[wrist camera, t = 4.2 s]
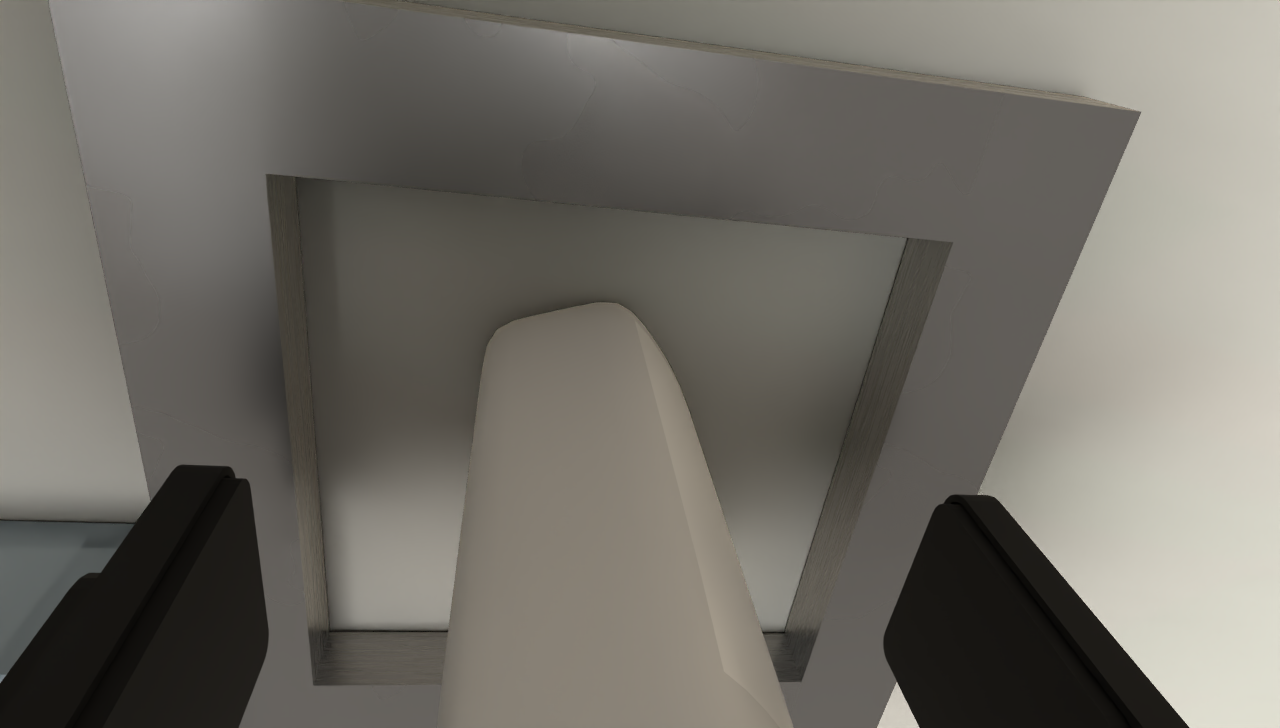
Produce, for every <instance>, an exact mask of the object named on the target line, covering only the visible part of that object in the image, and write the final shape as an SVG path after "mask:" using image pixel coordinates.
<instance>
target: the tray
mask: <svg viewBox="0 0 1280 728" xmlns="http://www.w3.org/2000/svg"><path fill="white" fill-rule="evenodd" d="M134 525H135V524H115V523H76V522H36V521H0V683H1V681H2V680H3V679H4V677H5V676H6V675H7V673H8V672H9V670H10V669H11V668H12V666H13V665H14V664H15V662H16V661H17V660H18V658H19V657H20V656H21V654H22V653H23V651H24V650H25V649H26V647H27V646H28V645H29V643H30V642H31V641H32V639H33V638H34V636H35V635H36V634H37V632H38V631H39V630H40V628H41V627H42V626H43V624H44V623H45V622H46V620H47V619H48V617H49V616H50V615H51V613H52V612H53V611H54V609H55V608H56V607H57V605H58V604H59V603H60V601H61V600H62V598H63V597H64V596H65V594H66V593H67V592H68V590H69V589H70V588H71V587H72V586H73V585H74V583H75V582H76V581H77V580H78V579H79V578H80V577H82V576H84V575H86V574H88V573H101V571H102V570H103V569H104V567H105V566H106V564H107V563H108V561H109V560H110V559H111V557H112V556H113V554H114V553H115V552H116V550H117V549H118V547H119V546H120V544H121V543H122V542H123V540H124V539H125V537H126V536H127V535H128V533H129V532H130V530H131V529H132V527H133V526H134Z"/></svg>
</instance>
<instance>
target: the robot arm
mask: <svg viewBox="0 0 1280 728" xmlns="http://www.w3.org/2000/svg"><path fill="white" fill-rule="evenodd" d="M268 641H269V628H268V620H267V612H266V605H265V597H264V589H263V581H262V573H261V565H260V557H259V549H258V541H257V534H256V526H255V518H254V510H253V502H252V494H251V487H250V483H249V481H248V480H247V479H244V478H236V477H235V473H234V471H233V469H232V468H231V467H229V466H210V465H184V464H181V465H179V466H177V467H176V468H175V469H174V470H173V471H172V472H171V474H170V475H169V476H168V478H167V479H166V481H165V482H164V483H163V485H162V486H161V488H160V489H159V491H158V492H157V493H156V495H155V496H154V498H153V499H152V500H151V502H150V503H149V505H148V506H147V508H146V509H145V510H144V512H143V513H142V515H141V516H140V517H139V519H138V520H137V522H136V523H135V525H134V526H133V527H132V529H131V530H130V532H129V533H128V535H127V536H126V537H125V539H124V540H123V542H122V543H121V544H120V546H119V547H118V549H117V550H116V552H115V553H114V554H113V556H112V557H111V559H110V560H109V561H108V563H107V564H106V566H105V567H104V569H103V570H102V571H101V573H88V574H86V575H84V576H82V577H80V578H79V579H78V580H77V581H76V582H75V583H74V585H73V586H72V587H71V588H70V589H69V590H68V592H67V593H66V594H65V596H64V597H63V598H62V600H61V601H60V603H59V604H58V605H57V607H56V608H55V609H54V611H53V612H52V613H51V615H50V616H49V617H48V619H47V620H46V622H45V623H44V624H43V626H42V627H41V628H40V630H39V631H38V632H37V634H36V635H35V636H34V638H33V639H32V641H31V642H30V643H29V645H28V646H27V647H26V649H25V650H24V651H23V653H22V654H21V656H20V657H19V658H18V660H17V661H16V662H15V664H14V665H13V666H12V668H11V669H10V670H9V672H8V673H7V675H6V676H5V677H4V679H3V680H2V681H1V683H0V728H239V725H240V723H241V720H242V718H243V715H244V713H245V710H246V707H247V705H248V702H249V700H250V697H251V694H252V692H253V689H254V687H255V684H256V681H257V679H258V676H259V674H260V671H261V668H262V666H263V663H264V660H265V657H266V653H267V648H268ZM883 649H884V654H885V657H886V660H887V662H888V664H889V666H890V668H891V670H892V672H893V675H894V677H895V679H896V681H897V683H898V685H899V687H900V689H901V691H902V693H903V695H904V697H905V699H906V701H907V703H908V705H909V707H910V709H911V711H912V713H913V715H914V717H915V719H916V721H917V723H918V725H919V727H920V728H1189V727H1188V725H1187V724H1186V723H1185V722H1184V721H1183V719H1182V718H1181V717H1180V716H1179V715H1178V714H1177V712H1176V711H1175V710H1174V709H1173V708H1172V706H1171V705H1170V704H1169V703H1168V702H1167V700H1166V699H1165V698H1164V697H1163V696H1162V694H1161V693H1160V692H1159V691H1158V690H1157V689H1156V687H1155V686H1154V685H1153V684H1152V683H1151V681H1150V680H1149V679H1148V678H1147V677H1146V675H1145V674H1144V673H1143V672H1142V671H1141V669H1140V668H1139V667H1138V666H1137V665H1136V664H1135V662H1134V661H1133V660H1132V659H1131V658H1130V656H1129V655H1128V654H1127V653H1126V652H1125V650H1124V649H1123V648H1122V647H1121V646H1120V645H1119V643H1118V642H1117V641H1116V640H1115V639H1114V637H1113V636H1112V635H1111V634H1110V633H1109V631H1108V630H1107V629H1106V628H1105V627H1104V625H1103V624H1102V623H1101V622H1100V621H1099V620H1098V618H1097V617H1096V616H1095V615H1094V614H1093V612H1092V611H1091V610H1090V609H1089V608H1088V606H1087V605H1086V604H1085V603H1084V602H1083V600H1082V599H1081V598H1080V597H1079V596H1078V595H1077V593H1076V592H1075V591H1074V590H1073V589H1072V587H1071V586H1070V585H1069V584H1068V583H1067V581H1066V580H1065V579H1064V578H1063V577H1062V576H1061V574H1060V573H1059V572H1058V571H1057V570H1056V568H1055V567H1054V566H1053V565H1052V564H1051V562H1050V561H1049V560H1048V559H1047V558H1046V556H1045V555H1044V554H1043V553H1042V552H1041V551H1040V549H1039V548H1038V547H1037V546H1036V545H1035V543H1034V542H1033V541H1032V540H1031V539H1030V537H1029V536H1028V535H1027V534H1026V533H1025V531H1024V530H1023V529H1022V528H1021V527H1020V526H1019V524H1018V523H1017V522H1016V521H1015V520H1014V518H1013V517H1012V516H1011V515H1010V514H1009V512H1008V511H1007V510H1006V509H1005V508H1004V507H1003V505H1002V504H1001V503H1000V502H999V501H998V500H997V499H996V498H995V497H992V496H988V495H962V494H955V495H950V496H949V497H948V498H947V499H946V500H945V502H944V503H943V504H939V505H938V506H937V507H935V509H934V511H933V513H932V516H931V518H930V521H929V523H928V526H927V528H926V531H925V533H924V536H923V538H922V541H921V543H920V546H919V548H918V551H917V553H916V556H915V558H914V560H913V563H912V565H911V568H910V570H909V573H908V575H907V578H906V580H905V583H904V585H903V588H902V590H901V593H900V595H899V598H898V600H897V603H896V605H895V608H894V610H893V613H892V615H891V618H890V620H889V623H888V625H887V628H886V630H885V633H884V637H883Z"/></svg>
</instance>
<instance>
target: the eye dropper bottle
mask: <svg viewBox="0 0 1280 728" xmlns="http://www.w3.org/2000/svg"><path fill="white" fill-rule="evenodd" d="M437 728H794V727H793V724H792V721H791V718H790V715H789V712H788V709H787V706H786V702H785V699H784V696H783V693H782V690H781V687H780V684H779V681H778V678H777V675H776V672H775V669H774V666H773V663H772V660H771V657H770V654H769V651H768V648H767V645H766V642H765V639H764V636H763V633H762V630H761V627H760V624H759V621H758V618H757V614H756V611H755V608H754V605H753V602H752V599H751V596H750V593H749V590H748V587H747V584H746V581H745V578H744V575H743V572H742V569H741V566H740V563H739V560H738V557H737V554H736V551H735V548H734V545H733V542H732V539H731V536H730V533H729V530H728V527H727V524H726V521H725V518H724V515H723V512H722V509H721V506H720V503H719V500H718V497H717V494H716V490H715V487H714V484H713V481H712V478H711V475H710V472H709V469H708V466H707V463H706V460H705V457H704V454H703V451H702V448H701V445H700V442H699V439H698V436H697V433H696V430H695V427H694V424H693V421H692V418H691V415H690V412H689V409H688V406H687V404H686V401H685V398H684V395H683V393H682V390H681V388H680V386H679V383H678V381H677V379H676V377H675V374H674V372H673V371H672V369H671V367H670V365H669V363H668V361H667V359H666V357H665V356H664V354H663V353H662V351H661V349H660V348H659V346H658V344H657V343H656V341H655V340H654V339H653V337H652V336H651V334H650V333H649V332H648V330H647V329H646V327H645V326H644V325H643V324H642V323H641V321H640V320H639V319H638V318H637V317H636V316H635V315H634V313H633V312H631V311H630V310H628V309H626V308H625V307H623V306H621V305H620V304H618V303H605V302H596V303H591V304H585V305H580V306H575V307H570V308H566V309H561V310H556V311H552V312H547V313H542V314H538V315H533V316H529V317H525V318H522V319H518V320H514V321H512V322H510V323H508V324H506V325H504V326H502V327H500V328H499V329H497V330H496V332H495V333H494V335H493V336H492V338H491V340H490V341H489V343H488V345H487V348H486V352H485V357H484V361H483V366H482V372H481V380H480V387H479V395H478V403H477V410H476V418H475V425H474V433H473V441H472V448H471V456H470V464H469V471H468V479H467V487H466V494H465V502H464V510H463V518H462V526H461V534H460V542H459V550H458V558H457V566H456V574H455V582H454V590H453V598H452V606H451V614H450V622H449V630H448V638H447V645H446V653H445V661H444V669H443V677H442V686H441V695H440V704H439V713H438V722H437Z"/></svg>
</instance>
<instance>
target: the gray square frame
mask: <svg viewBox="0 0 1280 728" xmlns="http://www.w3.org/2000/svg"><path fill="white" fill-rule="evenodd" d="M48 4H49V9H50V14H51V18H52V23H53V28H54V33H55V38H56V43H57V48H58V52H59V57H60V62H61V67H62V72H63V77H64V82H65V87H66V91H67V96H68V101H69V106H70V111H71V116H72V121H73V125H74V130H75V135H76V140H77V145H78V150H79V155H80V159H81V164H82V169H83V174H84V179H85V184H86V189H87V194H88V198H89V203H90V208H91V213H92V218H93V223H94V228H95V232H96V237H97V242H98V247H99V252H100V257H101V262H102V266H103V271H104V276H105V281H106V286H107V291H108V296H109V301H110V305H111V310H112V315H113V320H114V325H115V330H116V335H117V339H118V344H119V349H120V354H121V359H122V364H123V369H124V374H125V378H126V383H127V388H128V393H129V398H130V403H131V408H132V412H133V417H134V422H135V427H136V432H137V437H138V442H139V446H140V451H141V456H142V461H143V466H144V471H145V476H146V481H147V485H148V490H149V495H150V500H152V499H153V498H154V496H155V495H156V493H157V492H158V491H159V489H160V488H161V486H162V485H163V483H164V482H165V481H166V479H167V478H168V476H169V475H170V474H171V472H172V471H173V470H174V469H175V468H176V467H177V466H179V465H181V464H184V465H210V466H229V467H231V468H232V469H233V471H234V473H235V477H236V478H244V479H247V480H248V481H249V483H250V487H251V494H252V502H253V510H254V518H255V526H256V534H257V541H258V549H259V557H260V565H261V573H262V581H263V589H264V597H265V605H266V612H267V620H268V628H269V641H268V648H267V653H266V657H265V660H264V663H263V666H262V668H261V671H260V674H259V676H258V679H257V681H256V684H255V687H254V689H253V692H252V694H251V697H250V700H249V702H248V705H247V707H246V710H245V713H244V715H243V718H242V720H241V723H240V725H239V728H437V722H438V713H439V704H440V695H441V686H442V677H443V669H444V661H445V653H446V645H447V638H448V632H330V629H329V616H328V602H327V589H326V576H325V563H324V549H323V536H322V523H321V509H320V496H319V483H318V469H317V456H316V443H315V429H314V416H313V403H312V389H311V376H310V363H309V349H308V336H307V323H306V309H305V296H304V283H303V269H302V256H301V243H300V229H299V216H298V203H297V190H296V177H304V178H314V179H324V180H334V181H344V182H354V183H364V184H374V185H384V186H394V187H404V188H414V189H424V190H434V191H444V192H454V193H464V194H474V195H484V196H494V197H504V198H514V199H524V200H534V201H544V202H554V203H565V204H575V205H585V206H595V207H605V208H615V209H625V210H635V211H645V212H655V213H665V214H675V215H685V216H695V217H705V218H715V219H725V220H735V221H745V222H755V223H765V224H775V225H785V226H795V227H805V228H815V229H825V230H835V231H845V232H855V233H865V234H875V235H885V236H895V237H905V238H909V239H908V242H907V245H906V248H905V251H904V254H903V258H902V261H901V264H900V267H899V270H898V273H897V277H896V280H895V283H894V286H893V289H892V293H891V296H890V299H889V302H888V305H887V308H886V312H885V315H884V318H883V321H882V324H881V327H880V331H879V334H878V337H877V340H876V343H875V346H874V350H873V353H872V356H871V359H870V362H869V365H868V369H867V372H866V375H865V378H864V381H863V385H862V388H861V391H860V394H859V397H858V400H857V404H856V407H855V410H854V413H853V416H852V419H851V423H850V426H849V429H848V432H847V435H846V438H845V442H844V445H843V448H842V451H841V454H840V457H839V461H838V464H837V467H836V470H835V473H834V477H833V480H832V483H831V486H830V489H829V492H828V496H827V499H826V502H825V505H824V508H823V511H822V515H821V518H820V521H819V524H818V527H817V530H816V534H815V537H814V540H813V543H812V546H811V549H810V553H809V556H808V559H807V562H806V565H805V569H804V572H803V575H802V578H801V581H800V584H799V588H798V591H797V594H796V597H795V600H794V603H793V607H792V610H791V613H790V616H789V619H788V622H787V626H786V629H785V632H784V633H763V636H764V639H765V642H766V645H767V648H768V651H769V654H770V657H771V660H772V663H773V666H774V669H775V672H776V675H777V678H778V681H779V684H780V687H781V690H782V693H783V696H784V699H785V702H786V706H787V709H788V712H789V715H790V718H791V721H792V724H793V727H794V728H877V726H878V724H879V721H880V719H881V717H882V714H883V712H884V710H885V707H886V705H887V703H888V700H889V698H890V696H891V693H892V691H893V689H894V686H895V684H896V682H897V681H896V679H895V677H894V675H893V672H892V670H891V668H890V666H889V664H888V662H887V660H886V657H885V654H884V649H883V637H884V633H885V630H886V628H887V625H888V623H889V620H890V618H891V615H892V613H893V610H894V608H895V605H896V603H897V600H898V598H899V595H900V593H901V590H902V588H903V585H904V583H905V580H906V578H907V575H908V573H909V570H910V568H911V565H912V563H913V560H914V558H915V556H916V553H917V551H918V548H919V546H920V543H921V541H922V538H923V536H924V533H925V531H926V528H927V526H928V523H929V521H930V518H931V516H932V513H933V511H934V509H935V507H937V506H938V505H939V504H943V503H944V502H945V500H946V499H947V498H948V497H949V496H950V495H955V494H962V495H977V493H978V491H979V489H980V486H981V484H982V482H983V479H984V477H985V475H986V472H987V470H988V468H989V465H990V463H991V461H992V458H993V456H994V454H995V451H996V449H997V447H998V444H999V442H1000V440H1001V437H1002V435H1003V433H1004V430H1005V428H1006V426H1007V423H1008V421H1009V419H1010V416H1011V414H1012V412H1013V409H1014V407H1015V405H1016V402H1017V400H1018V398H1019V395H1020V393H1021V391H1022V388H1023V386H1024V384H1025V381H1026V379H1027V377H1028V375H1029V372H1030V370H1031V368H1032V365H1033V363H1034V361H1035V358H1036V356H1037V354H1038V351H1039V349H1040V347H1041V344H1042V342H1043V340H1044V337H1045V335H1046V333H1047V330H1048V328H1049V326H1050V323H1051V321H1052V319H1053V316H1054V314H1055V312H1056V309H1057V307H1058V305H1059V302H1060V300H1061V298H1062V295H1063V293H1064V291H1065V288H1066V286H1067V284H1068V281H1069V279H1070V277H1071V274H1072V272H1073V270H1074V267H1075V265H1076V263H1077V260H1078V258H1079V256H1080V253H1081V251H1082V249H1083V247H1084V244H1085V242H1086V240H1087V237H1088V235H1089V233H1090V230H1091V228H1092V226H1093V223H1094V221H1095V219H1096V216H1097V214H1098V212H1099V209H1100V207H1101V205H1102V202H1103V200H1104V198H1105V195H1106V193H1107V191H1108V188H1109V186H1110V184H1111V181H1112V179H1113V177H1114V174H1115V172H1116V170H1117V167H1118V165H1119V163H1120V160H1121V158H1122V156H1123V153H1124V151H1125V149H1126V146H1127V144H1128V142H1129V139H1130V137H1131V135H1132V132H1133V130H1134V128H1135V125H1136V123H1137V121H1138V119H1139V116H1140V114H1141V112H1139V111H1136V110H1132V109H1128V108H1124V107H1121V106H1117V105H1113V104H1109V103H1106V102H1102V101H1098V100H1094V99H1090V98H1087V97H1082V96H1075V95H1068V94H1061V93H1054V92H1046V91H1039V90H1032V89H1025V88H1018V87H1011V86H1004V85H996V84H989V83H982V82H975V81H968V80H961V79H954V78H947V77H939V76H932V75H925V74H918V73H911V72H904V71H897V70H890V69H882V68H875V67H868V66H861V65H854V64H847V63H840V62H832V61H825V60H818V59H811V58H804V57H797V56H790V55H783V54H775V53H768V52H761V51H754V50H747V49H740V48H733V47H726V46H718V45H711V44H704V43H697V42H690V41H683V40H676V39H668V38H661V37H654V36H647V35H640V34H633V33H626V32H619V31H611V30H604V29H597V28H590V27H583V26H576V25H569V24H562V23H554V22H547V21H540V20H533V19H526V18H519V17H512V16H505V15H497V14H490V13H483V12H476V11H469V10H462V9H455V8H447V7H440V6H433V5H426V4H419V3H412V2H405V1H398V0H48Z"/></svg>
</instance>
